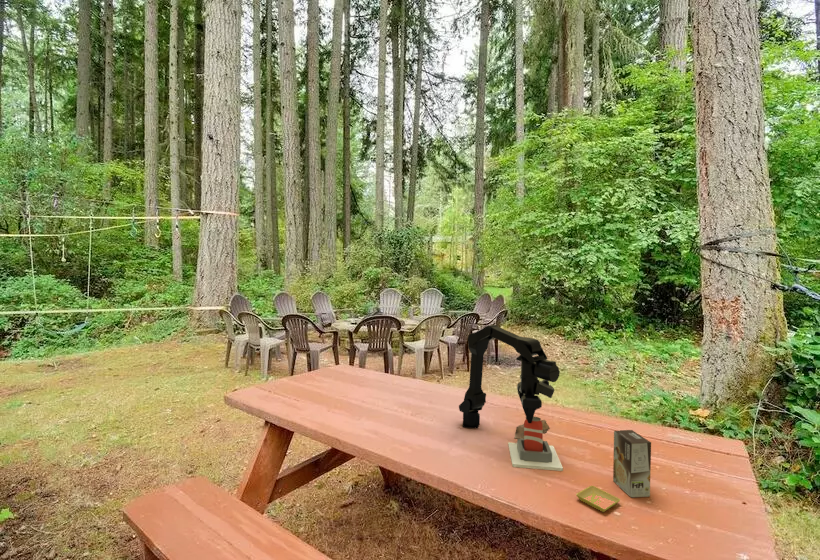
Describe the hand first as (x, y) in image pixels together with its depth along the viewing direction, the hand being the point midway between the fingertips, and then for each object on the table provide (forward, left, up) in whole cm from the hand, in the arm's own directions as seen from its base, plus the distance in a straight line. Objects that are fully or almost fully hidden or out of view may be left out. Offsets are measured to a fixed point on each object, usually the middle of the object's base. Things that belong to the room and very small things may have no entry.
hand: (527, 417), depth 141 cm
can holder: (+2, -4, -13) cm, 13 cm away
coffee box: (+28, -19, -13) cm, 36 cm away
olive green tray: (+16, -28, -13) cm, 34 cm away
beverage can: (+2, -3, -12) cm, 12 cm away
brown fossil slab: (+5, +20, -13) cm, 25 cm away
